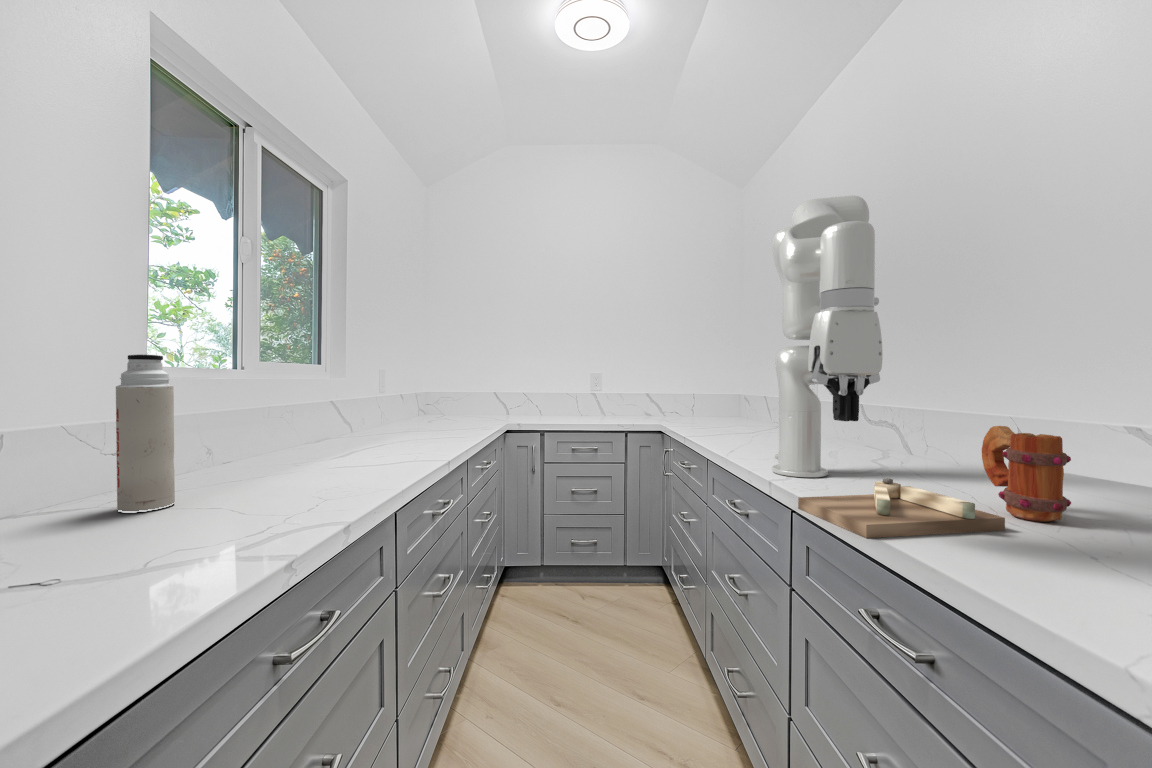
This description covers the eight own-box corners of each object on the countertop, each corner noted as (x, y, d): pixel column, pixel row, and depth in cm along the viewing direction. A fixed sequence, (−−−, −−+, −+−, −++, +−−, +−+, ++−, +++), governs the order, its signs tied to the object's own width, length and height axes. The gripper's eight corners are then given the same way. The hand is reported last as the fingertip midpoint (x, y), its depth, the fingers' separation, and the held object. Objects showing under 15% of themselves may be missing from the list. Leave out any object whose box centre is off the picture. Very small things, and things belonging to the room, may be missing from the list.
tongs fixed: (880, 494, 92) (880, 478, 92) (894, 494, 92) (895, 478, 92) (961, 519, 76) (961, 499, 76) (978, 518, 76) (978, 499, 76)
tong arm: (873, 492, 94) (873, 480, 94) (899, 494, 92) (899, 482, 92) (876, 514, 79) (877, 500, 79) (908, 517, 77) (908, 503, 77)
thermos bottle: (109, 516, 86) (107, 353, 85) (127, 505, 93) (125, 355, 93) (167, 510, 89) (165, 354, 89) (180, 500, 96) (178, 355, 96)
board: (798, 508, 91) (798, 497, 91) (914, 503, 94) (914, 492, 94) (866, 538, 74) (866, 524, 74) (1004, 530, 78) (1004, 517, 77)
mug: (1086, 527, 79) (1087, 432, 79) (1034, 526, 80) (1035, 432, 79) (1008, 503, 94) (1009, 424, 94) (964, 503, 94) (965, 424, 94)
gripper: (872, 308, 83) (871, 418, 83) (788, 306, 81) (787, 419, 81) (908, 301, 76) (907, 422, 76) (817, 299, 73) (816, 423, 74)
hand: (845, 420), depth 79 cm, fingers closed
